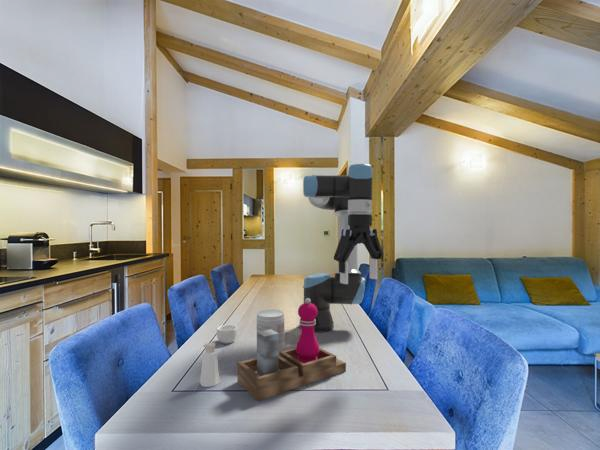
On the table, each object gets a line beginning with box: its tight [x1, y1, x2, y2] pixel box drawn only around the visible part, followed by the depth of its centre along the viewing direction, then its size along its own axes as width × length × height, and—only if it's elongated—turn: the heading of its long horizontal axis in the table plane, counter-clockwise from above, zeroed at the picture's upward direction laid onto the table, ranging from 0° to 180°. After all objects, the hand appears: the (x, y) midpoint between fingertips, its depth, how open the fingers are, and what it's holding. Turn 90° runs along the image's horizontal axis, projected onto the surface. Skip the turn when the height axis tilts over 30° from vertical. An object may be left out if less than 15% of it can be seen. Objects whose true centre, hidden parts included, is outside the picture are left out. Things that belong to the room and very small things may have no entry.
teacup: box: [216, 324, 238, 345], centre depth 126 cm, size 10×8×5 cm
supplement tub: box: [256, 309, 286, 352], centre depth 112 cm, size 10×10×15 cm
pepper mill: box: [295, 298, 320, 363], centre depth 99 cm, size 7×7×20 cm
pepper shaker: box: [199, 341, 220, 388], centre depth 92 cm, size 5×5×11 cm
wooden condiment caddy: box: [237, 329, 347, 402], centre depth 96 cm, size 30×12×14 cm, turn 126°
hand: (359, 281), depth 103 cm, fingers open, 13 cm apart
